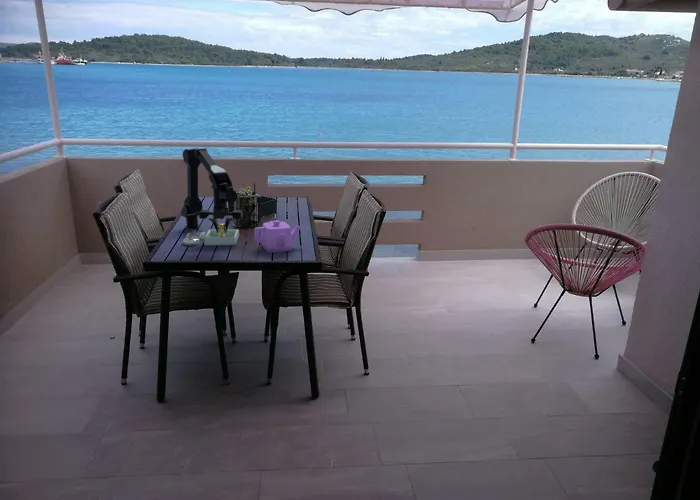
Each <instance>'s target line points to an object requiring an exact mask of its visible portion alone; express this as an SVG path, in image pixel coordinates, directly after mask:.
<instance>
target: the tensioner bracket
mask: <svg viewBox="0 0 700 500" xmlns="http://www.w3.org/2000/svg"><path fill="white" fill-rule="evenodd" d="M206 234H207V233H206V231H188V233H187V234H186V236H185V238H183V239H182V241H183V242H182V243H183V244H182V245H184V246H187V247H188V246H189V247H194V246H198V245H200V240H203V241H204V237H205V236H206Z"/></svg>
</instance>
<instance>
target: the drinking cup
mask: <svg viewBox="0 0 700 500" xmlns="http://www.w3.org/2000/svg"><path fill="white" fill-rule="evenodd" d="M256 192H257V191H256V183H253V193H255V194H256V195H257V203H258V222H261V217H262V216H261V213H262V201H263V200H262V198H263V195H262V194H260V193H258V192H257V193H256Z"/></svg>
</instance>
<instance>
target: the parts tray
mask: <svg viewBox="0 0 700 500" xmlns="http://www.w3.org/2000/svg"><path fill="white" fill-rule="evenodd" d="M239 238H240V230H239V229H228V230H227V233H226V232H225V237H219V232H218V233H217V231H216V229H208V231H207V233H206V235H205V237H204V238H203V242H204V246H236V245H237V243H238V240H239Z"/></svg>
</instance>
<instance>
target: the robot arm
mask: <svg viewBox="0 0 700 500" xmlns="http://www.w3.org/2000/svg"><path fill="white" fill-rule="evenodd" d="M182 160H183V162H184V164H185V165H186V169H187V171H186V172H187V174H186V175H187V196H186V198H184V199H185V200H183V203H184V204H183V206H182V209H181V211H180V214H181V217H184V218H185V224H186V225H185V226H184V230H199V228H200V227H201V225H200V224H199V219H202V220H205V219H207V218H208V221H211V223H212V225H213V227H214V230H216V231H217V233H218V227H217V224H218V220H219V219H220V220H224V219H225V224H226V227H225V232H226V233H227V230H229V225H230V223H231V221H233V220H235V219H236V220H239V219H240V220H241V219H242V218H243V211H242V210H241V209H238V210H235V209H233V211H232V212H231V211H230V209H229V207H228V203H229V204H233V203H235V202H236V201H237V200H238V198H239V196H238V193H237V191H235V190H234V187H233V182H232V180H231V178H230V176H229V174H228V172H227V171H226V170H225V169H224V168H223V167H220V166H218V165H217V163H216V162H215V160H214V159H213V158H212V157H211V155H210V154H209V152H208V150H207V148H206V147H194V148H185V149H184V150H183V151H182ZM201 164H202V165H203V167H204V169H206V171H207V173H208V178H209V181H210V183H211V186H210V187H211V189H212V191H213V194H212V195H213V208H212V211H210V209H203V208H204V207H203V201H202V200H201V199H200V197H199V167H200V165H201ZM225 217H226V218H225Z"/></svg>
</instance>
